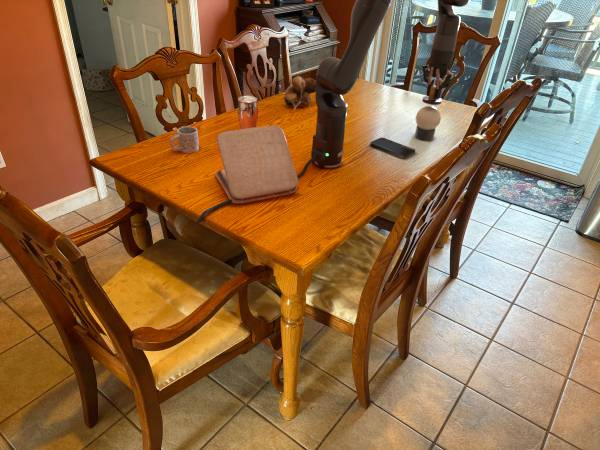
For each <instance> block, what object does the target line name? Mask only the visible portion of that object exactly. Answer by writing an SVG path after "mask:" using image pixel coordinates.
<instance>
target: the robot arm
mask: <svg viewBox="0 0 600 450" xmlns="http://www.w3.org/2000/svg"><path fill="white" fill-rule="evenodd" d="M392 2H393V0H355V2H354V5H353V7H352V9H351V14H350V26H349V27H350V29H349V31H350V32H349V40H348V43H347V47H346V48H345V50H344V53H343V55H342V57H341V59H340V58H338V57H334V56H328V57H325V58H323V59H322V60H321V61H320V63H319V64H318V67H317V69H316V73H315V74H316V75H315V76H316V77H315V81H316V92H315V104H316V107H317V110H316V124H315V134H313V135H312V144H311V153H310V157H311V158H310V159H309V160H308V161H307V162H306V163H305V165H304V167H303V168H302V170H301V171H300V173H298V174H297V178H298V179H300V178H301V177H302V176H303V175H304V174H305V173H306V172H307V169H308V168H309V166H310V165H311V164H314V165H315V166H317V167H318V168H319V169H321V170H323V169H327V170H329V169H331V170H332V169H337V168H339V167H341V166H342V164H343V155H344V154H345V152H346V151H345V149H344V143H345V135H346V124H347V115H348V104H347V102H346V100H345V99H344V98H343V96H345V95H347V94H348V93H349V92H350V91H351V90H352V89H353V87H354V86H355V84H356V83H357V81H358V79H359V75H360V72H361V70H362V68H363V65H364V62H365V59H366V57H367V54H368V52H369V50H370V48H371V45H372V44H373V42H374V40H375V37H376V34H377V32H378V30H379V28H380V26H381V25H382V23H383V21H384V19H385V17H386V15H387V13H388V10H389V9H390V7H391V5H392ZM470 2H471V0H437V15H438V16H437V17H438V20H437V24H436V29H435V30H436V31H435V34H434V37H433V39H432V41H433V42H432V45H431V51H430V56H429V62H428V64H423V65H422V66H421V67H422V77H423V83H425V84H426V85H427V87H426V93H425V94H426V96H429V93H430V88H431V86H432V85H436V89H435V93H434V99H439V98H440V99H441V95H442V91H443V90H444V89H448V87H449V86H450V84H451V83H452V81H453V80H454V78H455V77H456V73H455V72H454V73H452V71H451V64H452V62H453V60H454V59H453V58H454V54H455V49H456V45H457V40H458V33H459V29H460V24H461V16H460V15H459V14H457V13H456V12H455V11H454V7H456V8H463V7H465V6H467V5H468V4H469V3H470ZM435 83H436V84H435ZM230 204H233V203H232V200H229V199H227V200H225V201H222V202H220V203H218V204H215V205H213V206H211V207H209V208H207V209H205V210H204V211H203V212H202V213H201V214H200V215H199V217H198V219H197V221H196V223H197V224H201V223H202V221H203V220H204V218H205V216H206V215H207V214H209V213H211V212H213V211H215V210H217V209H219V208H221V207H223V206H226V205H230Z"/></svg>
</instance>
